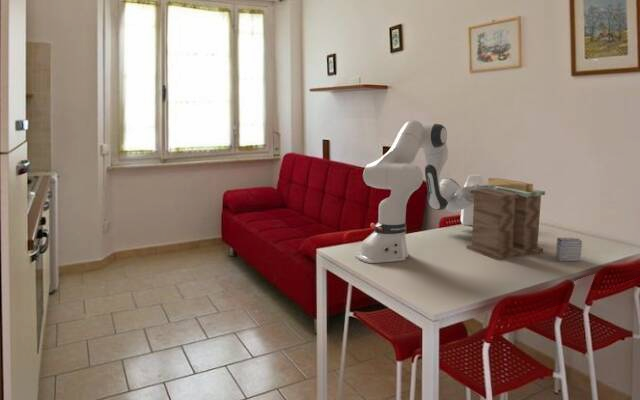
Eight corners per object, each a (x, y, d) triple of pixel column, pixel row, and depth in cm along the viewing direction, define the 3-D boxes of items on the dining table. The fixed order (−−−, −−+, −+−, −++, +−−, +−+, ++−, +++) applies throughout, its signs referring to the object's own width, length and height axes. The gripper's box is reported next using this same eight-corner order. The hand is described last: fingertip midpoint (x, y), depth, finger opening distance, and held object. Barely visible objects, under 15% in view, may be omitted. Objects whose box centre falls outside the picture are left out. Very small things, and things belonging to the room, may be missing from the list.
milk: (483, 220, 260) (485, 173, 255) (486, 225, 249) (488, 176, 244) (460, 220, 262) (462, 173, 257) (462, 225, 251) (464, 176, 246)
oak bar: (525, 191, 197) (525, 184, 196) (488, 184, 217) (488, 178, 216) (532, 190, 198) (533, 183, 198) (494, 184, 218) (495, 177, 218)
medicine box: (575, 258, 191) (577, 237, 190) (580, 261, 187) (582, 240, 186) (555, 258, 192) (557, 237, 191) (559, 261, 188) (561, 240, 186)
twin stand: (496, 259, 191) (499, 196, 186) (466, 248, 207) (469, 190, 203) (542, 252, 200) (546, 191, 196) (510, 241, 217) (514, 185, 212)
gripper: (449, 191, 230) (466, 180, 218) (482, 187, 238) (500, 177, 225) (453, 203, 228) (470, 193, 216) (486, 199, 236) (505, 189, 224)
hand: (486, 184), depth 221 cm, fingers open, 8 cm apart
